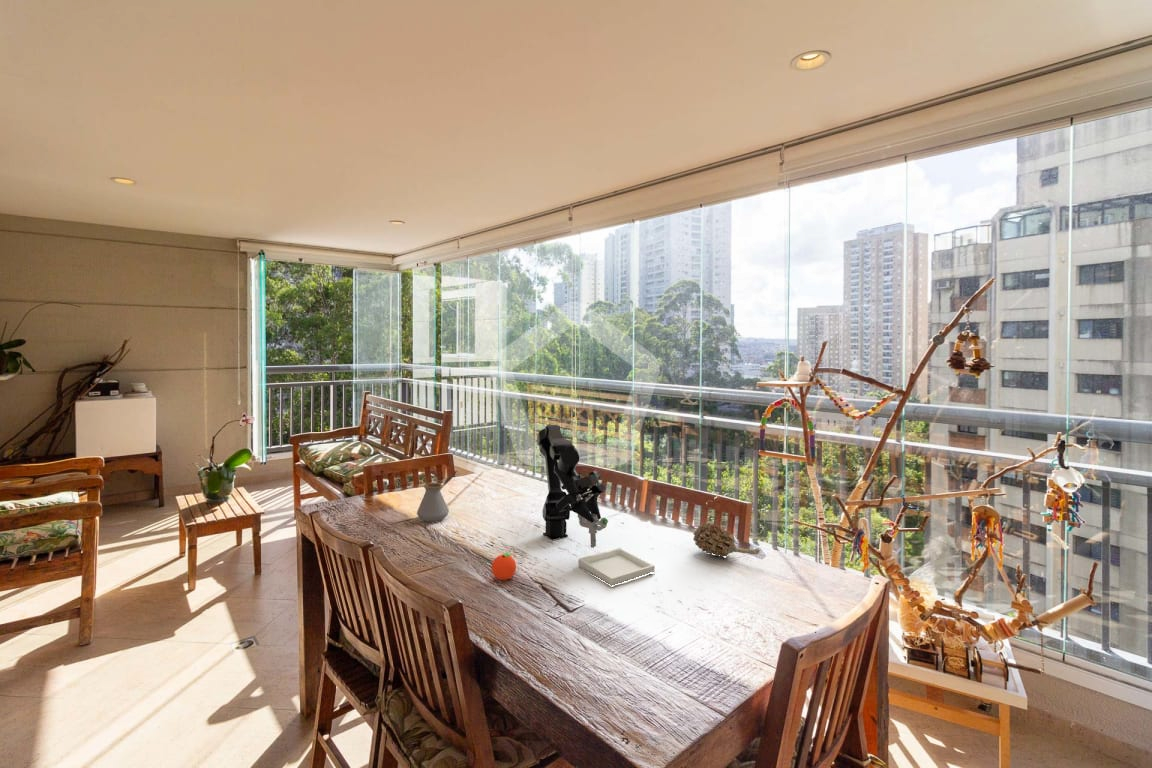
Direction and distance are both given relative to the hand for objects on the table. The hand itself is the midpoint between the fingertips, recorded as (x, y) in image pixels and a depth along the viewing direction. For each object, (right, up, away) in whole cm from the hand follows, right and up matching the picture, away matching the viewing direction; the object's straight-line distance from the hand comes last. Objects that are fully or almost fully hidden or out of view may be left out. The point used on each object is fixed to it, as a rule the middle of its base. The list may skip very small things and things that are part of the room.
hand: (596, 520), depth 170 cm
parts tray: (+6, -14, -4) cm, 15 cm away
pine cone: (+41, -14, +6) cm, 44 cm away
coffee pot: (-57, -8, +42) cm, 72 cm away
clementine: (-26, -14, -11) cm, 32 cm away
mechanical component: (-1, -9, +2) cm, 9 cm away
